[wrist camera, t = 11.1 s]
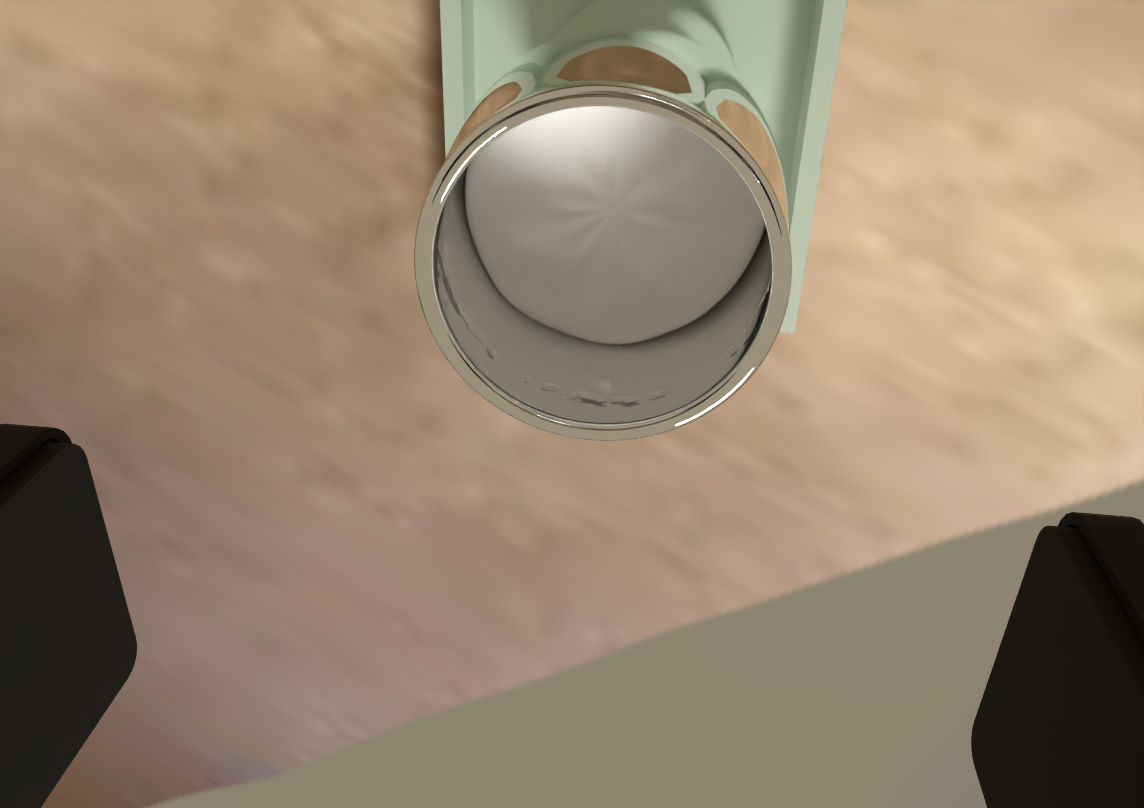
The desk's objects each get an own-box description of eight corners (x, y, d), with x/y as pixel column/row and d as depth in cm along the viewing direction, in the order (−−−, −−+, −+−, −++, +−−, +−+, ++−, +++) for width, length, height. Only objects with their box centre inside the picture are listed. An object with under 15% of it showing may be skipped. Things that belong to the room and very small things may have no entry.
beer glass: (484, 130, 31) (337, 330, 18) (601, -79, 27) (526, -22, 14) (667, 245, 32) (654, 511, 19) (799, 59, 29) (895, 226, 16)
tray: (452, -151, 27) (434, -151, 25) (854, -138, 26) (868, -137, 24) (465, 283, 34) (451, 310, 32) (787, 304, 33) (794, 333, 31)
